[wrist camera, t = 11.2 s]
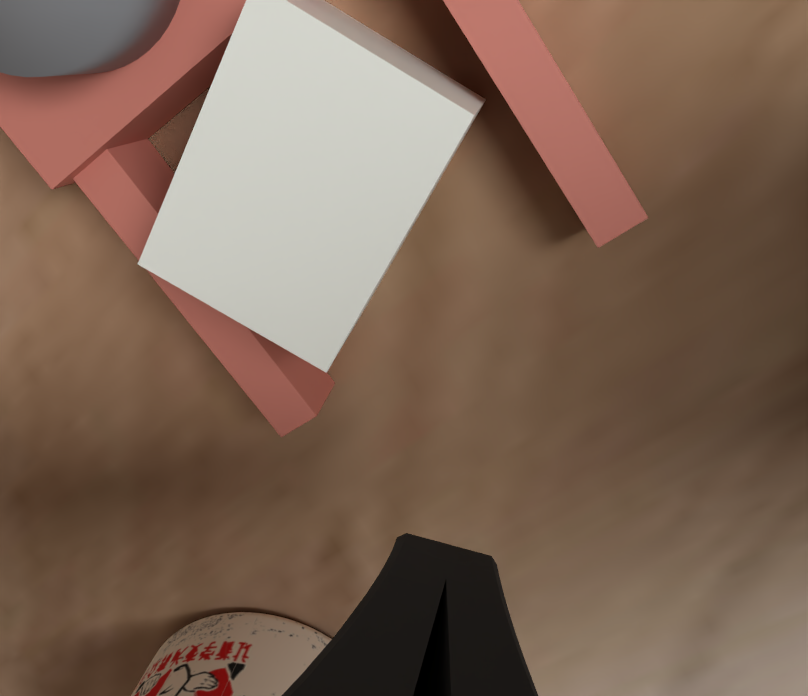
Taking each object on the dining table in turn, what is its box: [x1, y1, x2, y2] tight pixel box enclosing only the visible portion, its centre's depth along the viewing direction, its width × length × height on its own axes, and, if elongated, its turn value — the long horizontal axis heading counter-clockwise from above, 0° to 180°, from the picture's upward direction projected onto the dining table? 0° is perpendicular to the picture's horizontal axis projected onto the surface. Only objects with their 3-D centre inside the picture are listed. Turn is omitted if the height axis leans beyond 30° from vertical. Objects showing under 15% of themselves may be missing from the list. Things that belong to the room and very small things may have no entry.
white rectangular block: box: [138, 0, 486, 373], centre depth 16 cm, size 4×6×4 cm
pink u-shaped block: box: [0, 0, 648, 437], centre depth 15 cm, size 14×11×4 cm
